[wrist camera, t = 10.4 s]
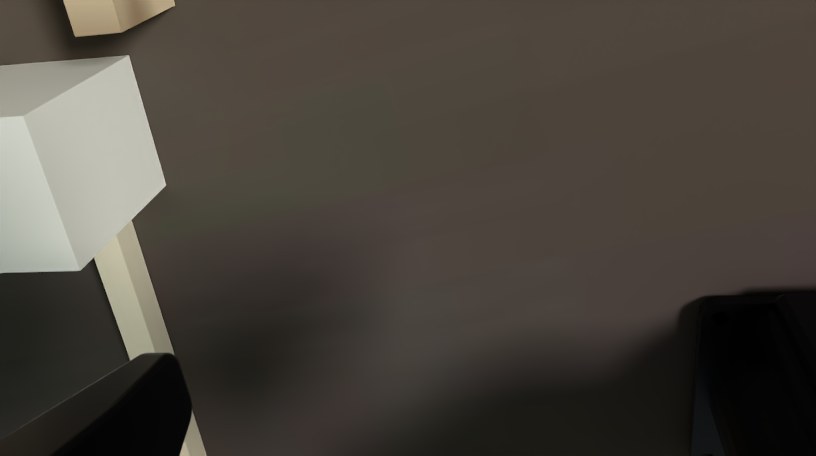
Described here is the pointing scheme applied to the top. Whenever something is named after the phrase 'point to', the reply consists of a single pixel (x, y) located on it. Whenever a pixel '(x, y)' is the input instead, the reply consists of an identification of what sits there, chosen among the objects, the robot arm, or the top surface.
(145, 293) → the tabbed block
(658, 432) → the top surface
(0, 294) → the top surface
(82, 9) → the oak lane
